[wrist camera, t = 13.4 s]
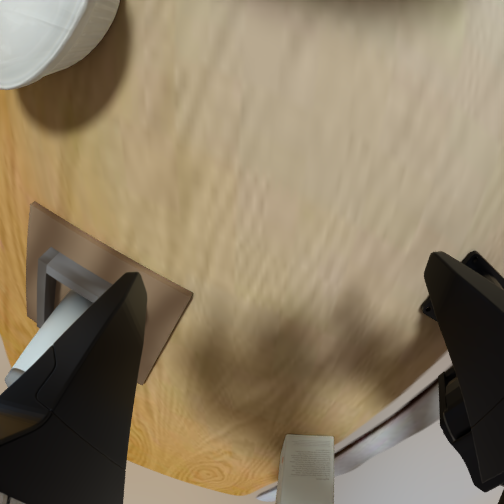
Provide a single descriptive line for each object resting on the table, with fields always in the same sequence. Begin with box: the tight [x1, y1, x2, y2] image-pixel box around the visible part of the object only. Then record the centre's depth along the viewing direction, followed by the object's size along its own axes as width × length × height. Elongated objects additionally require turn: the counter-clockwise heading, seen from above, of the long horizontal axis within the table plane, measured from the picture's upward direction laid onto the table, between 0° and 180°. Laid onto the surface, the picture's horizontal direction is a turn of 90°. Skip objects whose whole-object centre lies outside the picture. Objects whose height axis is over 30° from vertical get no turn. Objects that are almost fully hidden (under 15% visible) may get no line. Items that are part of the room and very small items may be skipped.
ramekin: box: [0, 0, 120, 90], centre depth 12 cm, size 11×11×5 cm
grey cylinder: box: [5, 290, 93, 387], centre depth 23 cm, size 5×5×11 cm
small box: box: [275, 434, 334, 504], centre depth 31 cm, size 8×6×13 cm
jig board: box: [26, 201, 193, 385], centre depth 27 cm, size 16×16×3 cm
